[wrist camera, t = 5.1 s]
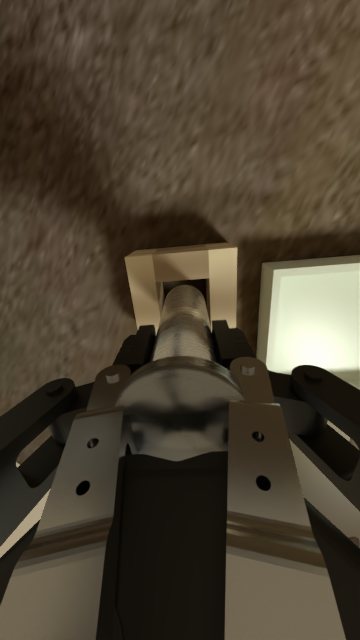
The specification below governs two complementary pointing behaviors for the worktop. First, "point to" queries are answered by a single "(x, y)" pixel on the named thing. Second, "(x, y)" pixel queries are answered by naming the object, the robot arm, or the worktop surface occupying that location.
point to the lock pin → (181, 385)
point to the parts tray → (311, 316)
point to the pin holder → (183, 264)
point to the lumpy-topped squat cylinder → (353, 443)
